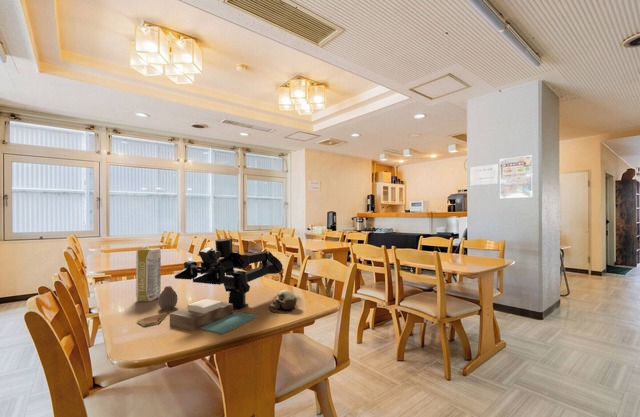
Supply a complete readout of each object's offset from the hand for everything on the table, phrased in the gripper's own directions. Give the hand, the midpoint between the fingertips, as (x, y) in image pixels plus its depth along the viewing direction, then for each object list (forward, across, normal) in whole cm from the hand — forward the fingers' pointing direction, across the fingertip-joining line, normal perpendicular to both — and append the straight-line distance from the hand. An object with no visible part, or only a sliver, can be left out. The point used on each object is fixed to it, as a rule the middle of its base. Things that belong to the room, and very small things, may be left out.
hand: (183, 278), depth 101 cm
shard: (+3, -16, +17) cm, 24 cm away
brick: (-7, 0, +17) cm, 18 cm away
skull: (-30, +19, +19) cm, 41 cm away
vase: (-9, -23, +18) cm, 31 cm away
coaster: (-7, +1, +13) cm, 15 cm away
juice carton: (-13, -43, +20) cm, 49 cm away
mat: (-9, +12, +17) cm, 22 cm away
